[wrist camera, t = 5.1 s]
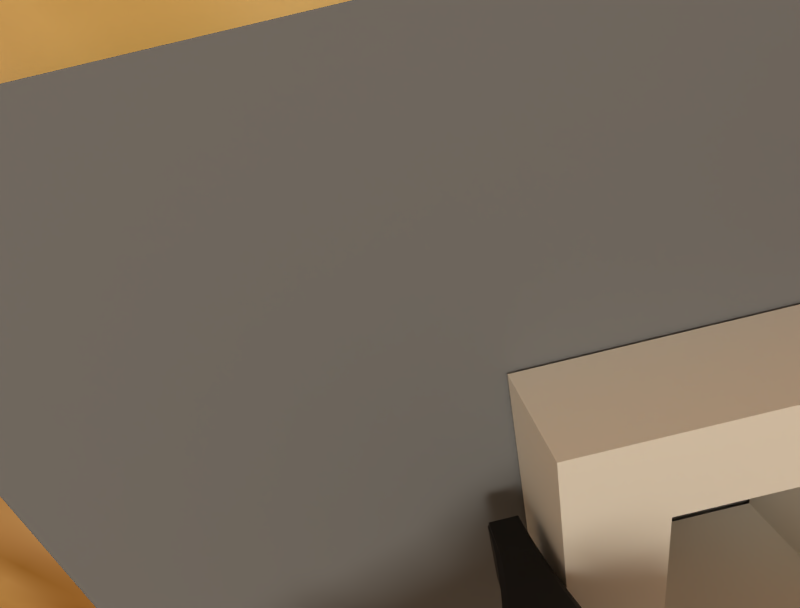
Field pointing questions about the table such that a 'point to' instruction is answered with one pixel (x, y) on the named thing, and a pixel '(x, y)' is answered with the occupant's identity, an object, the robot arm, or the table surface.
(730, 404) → the beige square frame
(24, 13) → the table surface
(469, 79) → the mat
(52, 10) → the table surface
